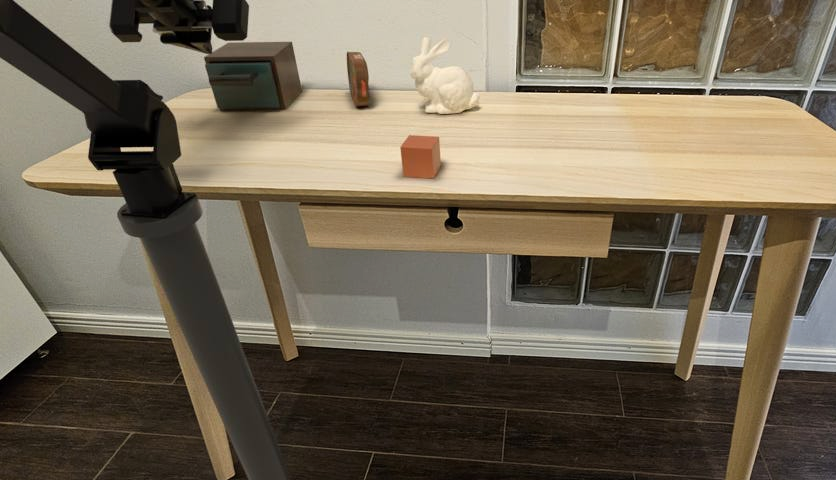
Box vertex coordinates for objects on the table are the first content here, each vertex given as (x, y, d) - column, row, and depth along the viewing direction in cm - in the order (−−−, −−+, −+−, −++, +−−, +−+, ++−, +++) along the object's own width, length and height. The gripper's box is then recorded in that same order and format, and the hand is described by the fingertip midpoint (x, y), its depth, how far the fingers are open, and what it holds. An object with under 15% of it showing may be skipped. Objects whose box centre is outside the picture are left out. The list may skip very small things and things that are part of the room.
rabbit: (411, 115, 97) (405, 45, 90) (421, 99, 105) (416, 33, 98) (477, 116, 96) (476, 45, 89) (482, 100, 104) (482, 34, 97)
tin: (348, 90, 110) (342, 47, 106) (364, 88, 111) (358, 45, 106) (357, 113, 99) (350, 65, 94) (374, 111, 99) (368, 64, 95)
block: (433, 178, 75) (431, 148, 73) (403, 176, 76) (400, 146, 74) (441, 165, 79) (439, 136, 76) (411, 163, 80) (409, 134, 77)
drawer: (270, 116, 95) (259, 71, 91) (207, 117, 95) (192, 72, 91) (294, 90, 108) (285, 49, 103) (238, 91, 108) (227, 50, 103)
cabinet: (285, 109, 101) (273, 56, 95) (219, 110, 101) (203, 57, 95) (302, 91, 110) (292, 41, 105) (241, 91, 110) (228, 42, 105)
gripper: (224, -73, 71) (270, 4, 86) (84, -71, 71) (155, 6, 86) (219, 2, 69) (267, 68, 85) (75, 4, 69) (149, 69, 85)
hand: (209, 51), depth 85 cm, fingers closed
